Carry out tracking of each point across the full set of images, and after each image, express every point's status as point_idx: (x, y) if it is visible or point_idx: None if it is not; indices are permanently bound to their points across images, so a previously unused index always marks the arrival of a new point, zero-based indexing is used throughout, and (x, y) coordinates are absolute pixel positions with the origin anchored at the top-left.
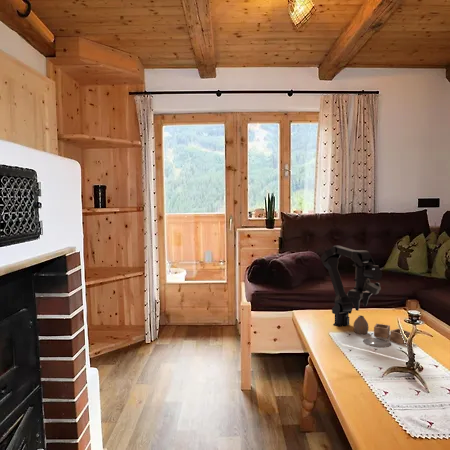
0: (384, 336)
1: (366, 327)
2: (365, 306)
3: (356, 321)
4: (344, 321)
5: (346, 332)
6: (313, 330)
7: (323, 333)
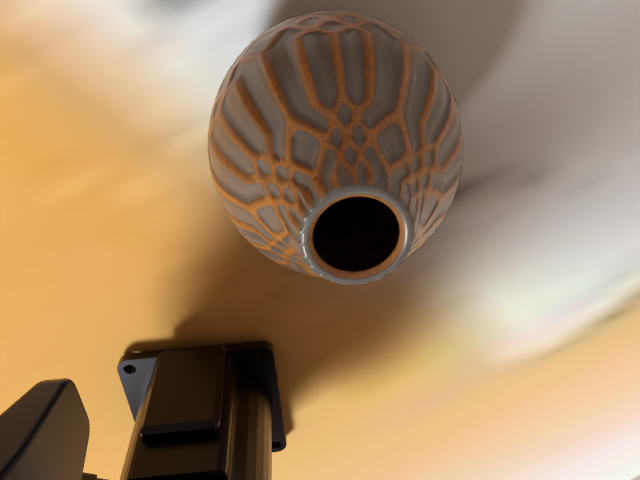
0: None
1: (374, 25)
2: (76, 394)
3: (435, 226)
4: (235, 404)
5: None
6: (558, 456)
7: (590, 372)
